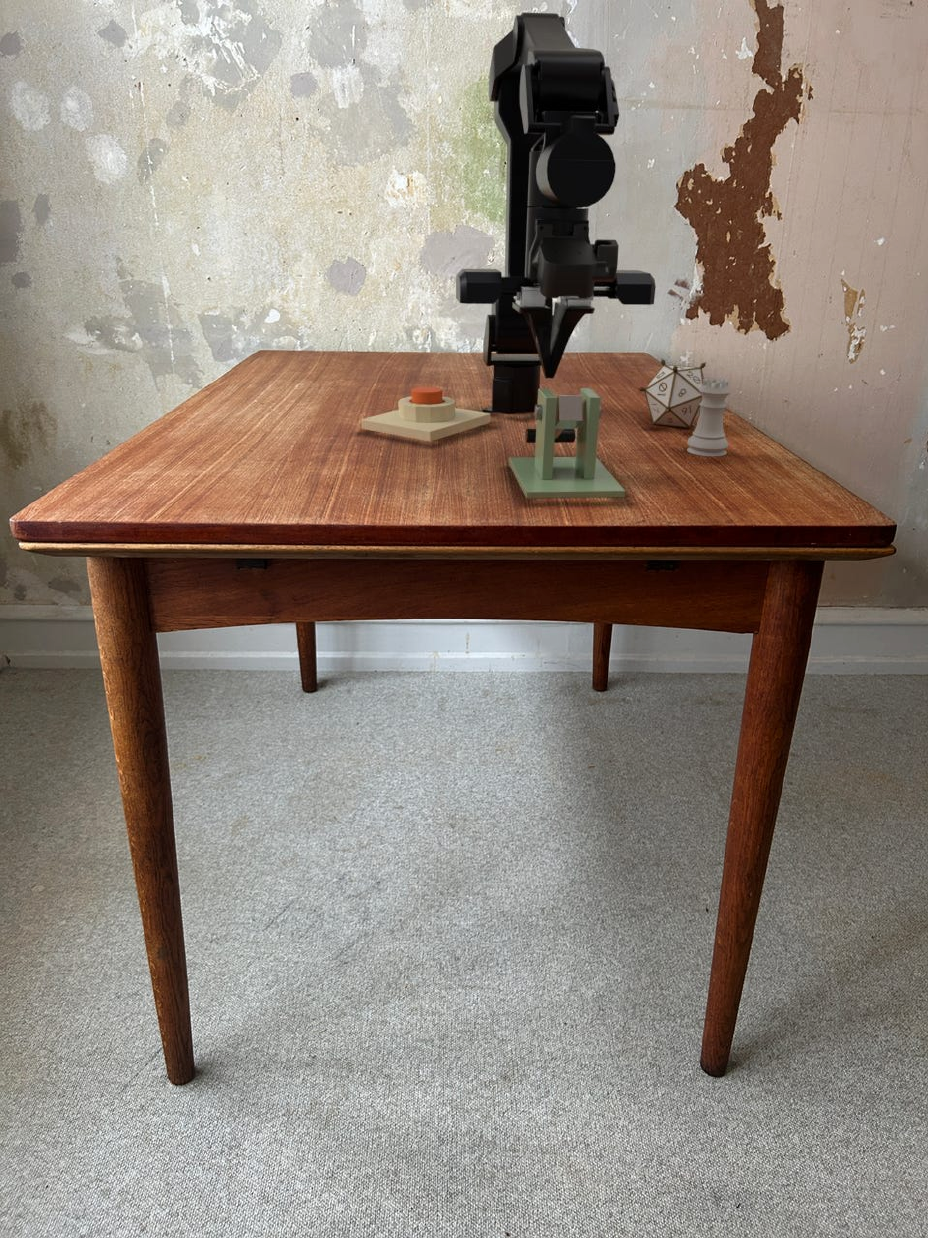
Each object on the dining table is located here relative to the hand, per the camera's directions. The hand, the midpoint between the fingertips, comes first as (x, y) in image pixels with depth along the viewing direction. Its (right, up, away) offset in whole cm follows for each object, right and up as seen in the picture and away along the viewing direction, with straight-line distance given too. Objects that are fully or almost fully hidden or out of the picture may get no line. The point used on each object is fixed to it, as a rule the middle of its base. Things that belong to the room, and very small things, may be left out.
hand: (549, 377), depth 90 cm
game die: (+17, -2, +18) cm, 25 cm away
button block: (-13, -2, +16) cm, 20 cm away
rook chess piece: (+18, -7, +6) cm, 20 cm away
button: (-13, +1, +14) cm, 19 cm away
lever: (+1, -7, -3) cm, 7 cm away
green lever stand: (+1, -11, -4) cm, 12 cm away
